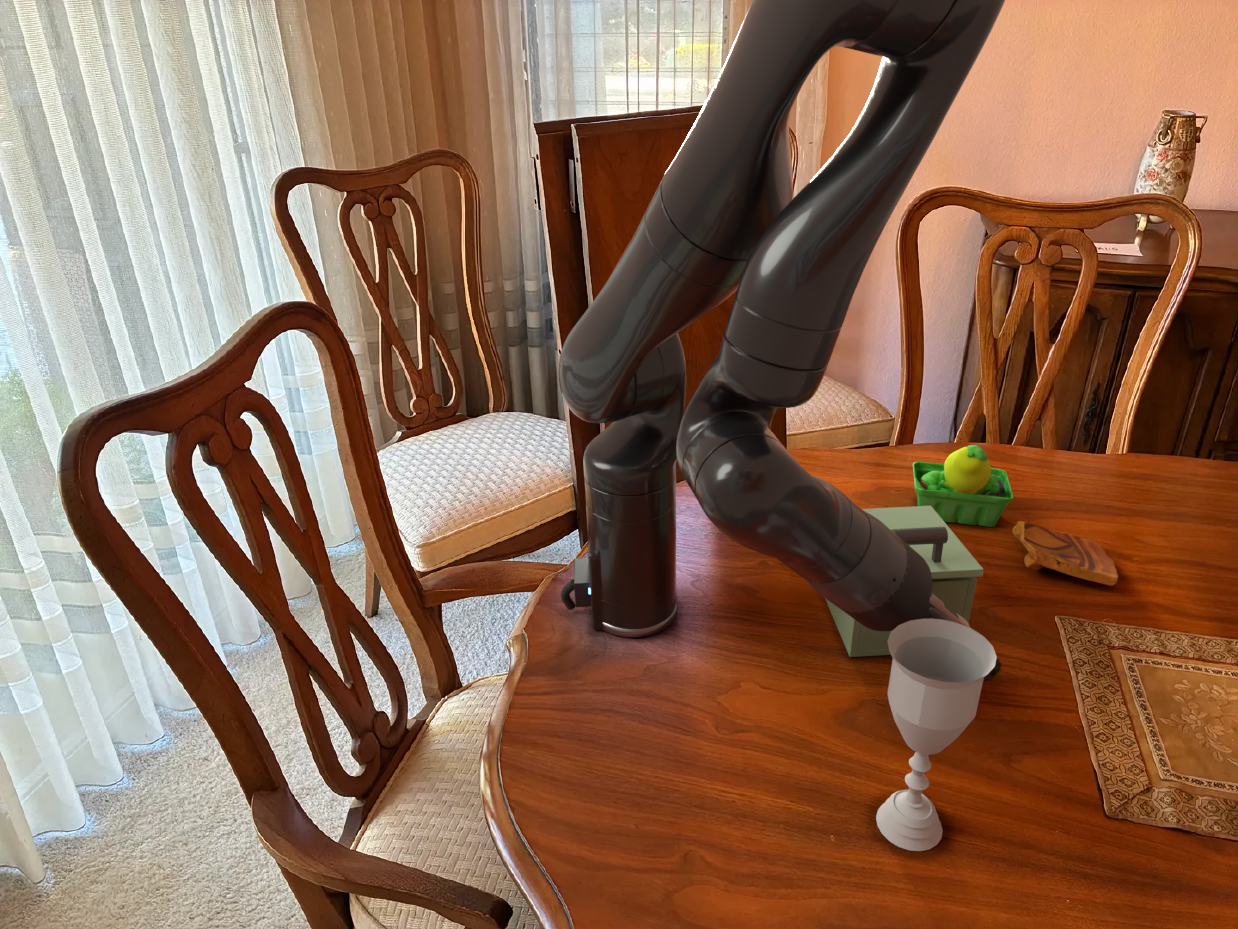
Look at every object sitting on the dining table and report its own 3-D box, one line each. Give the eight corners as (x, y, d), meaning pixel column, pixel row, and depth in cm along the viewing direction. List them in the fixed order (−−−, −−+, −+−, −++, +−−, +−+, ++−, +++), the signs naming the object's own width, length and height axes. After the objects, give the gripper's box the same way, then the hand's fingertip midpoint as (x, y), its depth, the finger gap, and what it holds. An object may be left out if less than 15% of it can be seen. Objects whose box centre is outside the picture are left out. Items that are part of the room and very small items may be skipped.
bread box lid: (982, 576, 81) (989, 535, 79) (861, 583, 81) (865, 542, 79) (930, 511, 94) (934, 475, 92) (824, 517, 93) (827, 480, 91)
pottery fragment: (1011, 517, 103) (1104, 512, 100) (1011, 549, 105) (1102, 544, 102) (1029, 567, 94) (1131, 562, 91) (1028, 600, 96) (1128, 597, 93)
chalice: (939, 787, 72) (973, 616, 63) (971, 858, 66) (1014, 679, 57) (852, 792, 72) (875, 620, 63) (876, 863, 66) (905, 685, 57)
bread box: (963, 651, 87) (977, 580, 82) (849, 657, 86) (858, 586, 82) (919, 578, 98) (929, 512, 94) (818, 583, 97) (824, 517, 93)
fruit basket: (998, 502, 112) (1015, 424, 106) (1008, 539, 104) (1026, 457, 99) (907, 494, 114) (918, 417, 109) (910, 529, 107) (922, 448, 101)
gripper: (954, 579, 62) (1048, 660, 71) (842, 492, 74) (934, 571, 83) (885, 655, 63) (986, 726, 72) (785, 557, 75) (882, 628, 84)
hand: (958, 643), depth 78 cm, fingers open, 8 cm apart
